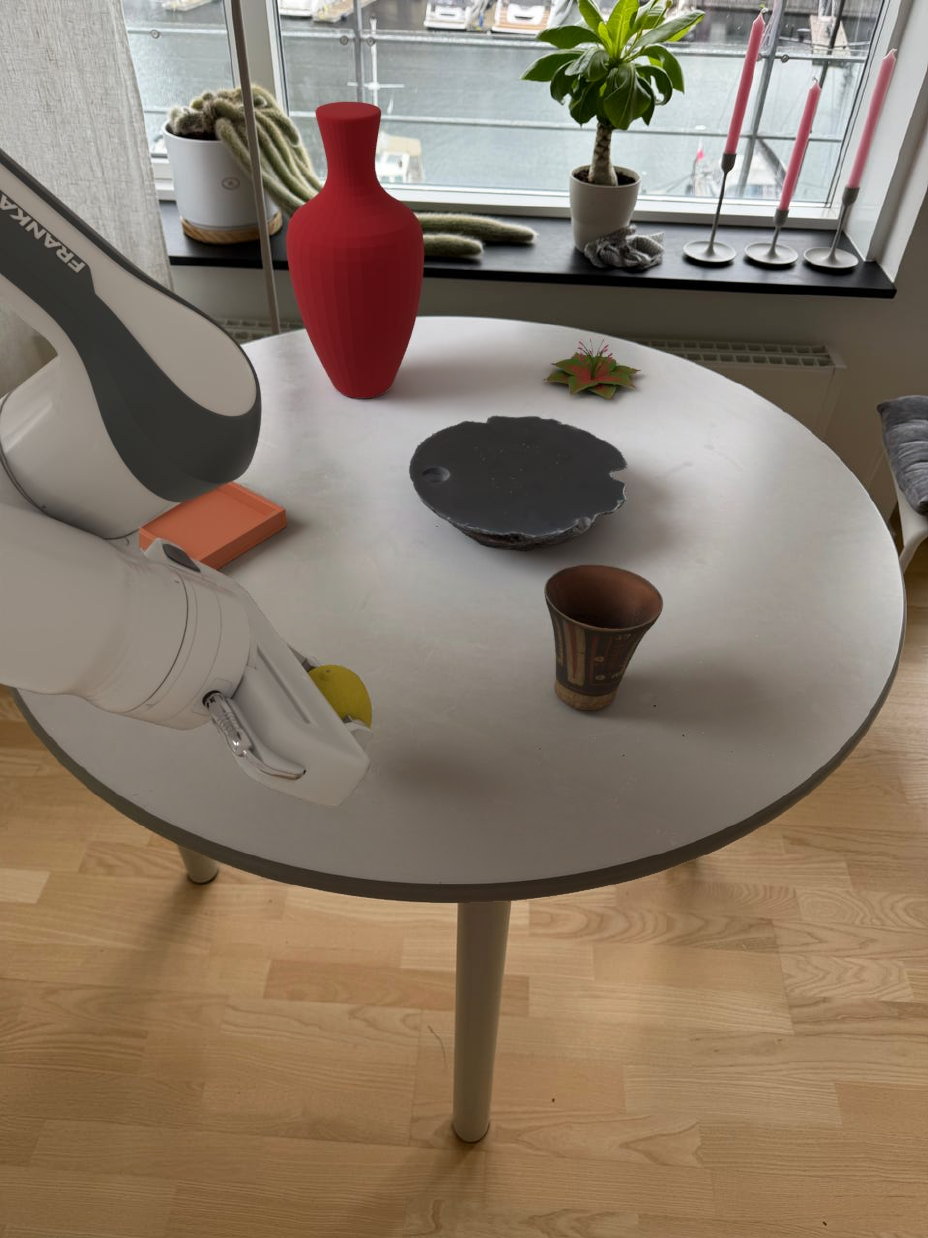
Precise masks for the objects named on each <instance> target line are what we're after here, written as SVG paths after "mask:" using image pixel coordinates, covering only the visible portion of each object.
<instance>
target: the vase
mask: <svg viewBox="0 0 928 1238" xmlns="http://www.w3.org/2000/svg"><path fill="white" fill-rule="evenodd" d="M314 111H315V119H316V122H317V126H318V131H319V134H320V137H321V141H322V146H323V150H324V154H325V160H326V168H327V169H326V170H327V173H326V178H325V182H324V184H323V186H322V188H321V189H320V191H319V192H318V193H317V194H315V196H313V197H312V198H311V199H309V200H307V201H306V202H305V203H304V204H302V205H301V206H300V207H298V208H297V209H296V211H294V213H293V215H292V217H291V218H290V219H289V221H288V225H287V230H286V231H287V232H286V237H285V243H286V258H287V262H288V263H287V264H288V271H289V276H290V281H291V285H292V288H293V293H294V297H295V301H296V303H297V306H298V310H299V313H300V316H301V320H302V322H303V325H304V328H305V331H306V334H307V336H308V338H309V341H310V343H311V345H312V348H313V350H314V352H315V354H316V356H317V358H318V360H319V362H320V364H321V366H322V367H323V370H324V371H325V373H326V375H327V376H328V377H327V378H329V381H330V383H331V384H332V385H333V387H334V389H335V390H336V391H337V392H339V393H340V394H341V395H343V396H345V397H349V398H355V399H370V398H375V397H379V396H381V395H384V394H385V393H386V392H388V391H389V390H391V388H392V386H393V385H394V382H395V379H396V377H397V374H398V372H399V371H400V368H401V365H402V362H403V360H404V357H405V355H406V353H407V349H408V348H409V344H410V341H411V337H412V335H413V332H414V328H415V324H416V320H417V316H418V312H419V306H420V301H421V295H422V286H423V280H424V267H425V266H424V264H425V243H424V242H425V241H424V232H423V228H422V225H421V222H420V220H419V218H418V217H417V216H416V214H415V213H414V211H413V210H412V209H411V208H410V207H409V206H407V204H405V203H403V202H402V201H401V200H400V199H397V198H396V197H394V196H392V195H391V194H390V193H388V192H387V191H386V189H385V188H384V187H383V186H382V184H381V182H380V181H379V178H378V175H377V171H376V158H377V157H376V156H377V145H378V140H379V133H380V126H381V120H382V110H381V108H380V107H379V106H377V105H376V104H372V103H368V102H362V101H335V102H329V103H325V104H322V105H320V106H318V107H317V108H315V110H314Z"/></svg>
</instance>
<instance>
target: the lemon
mask: <svg viewBox="0 0 928 1238" xmlns="http://www.w3.org/2000/svg"><path fill="white" fill-rule="evenodd" d="M308 675H309V676H310V677H311V679H312V680H313V682H314V683H315V684H316V686H317V687H318V688H319V690H320V691H321V693H322V694H323V695H324V697H325V698H326V699H327V701H328V702H329V704H330V705H331V706H332V708H333V709H334V710H335V712H336V713H337V714H338V716H339V717H340V719H341V720H342V721H343V720H344V718H345V717H346V716H347V715H351V716H354V717H356V718H357V719H358V718H360V719H362V720H363V721H364V723H365V724H366V725H367V726H368V728H369V729H370V730H371V726H372V720H373V719H372V718H373V707H372V702H371V698H370V696H369V692H368V690H367V687H366V685H365V683H364V682H363V680H362V679H361V678H360V676H359V675H358V674H356V673H355V672H354V671H352V670H351V669H349V668H347V667H345V666H342V665H339V664H338V665H337V664H324V665H322V666H320V667H317V668H314V669H313V670H311V671H309V672H308Z"/></svg>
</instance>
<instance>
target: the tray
mask: <svg viewBox="0 0 928 1238" xmlns="http://www.w3.org/2000/svg"><path fill="white" fill-rule="evenodd" d="M287 527H288V517H287V511H286V508H284V507H282V506H281V505H279V504H277V503H275V502H273V501H271V500H269V499H267V498H265V497H264V496H262V495H259V494H258V493H256V492H254V491H253V490H251V489H248V488H246V487H244V486H243V485H241V484H239V483H237V482H235V481H232V482H229V483H227V484H225V485H223V486H221V487H219V488H216V489H214V490H212V491H210V492H208V493H205V494H203V495H201V496H199V497H197V498H194V499H192V500H190V501H187V502H182V503H180V504H179V505H177V506H175V507H174V508H172V509H171V510H169V511H167V512H166V513H164V514H162V515H161V516H159V517H157V518H156V519H154V520H153V521H151V522H149V523H148V524H146V525H144V526H143V527H141V528H139V529H140V535H139V547H140V549H142V550H144V551H146V550H147V548H148V547H149V546H150V545H151V543H152V542H153V541H154V540H155V539H156V538H163V539H165V540H168V541H170V542H172V543H174V544H176V545H178V546H180V547H181V548H182V549H183V550H184V551H185V553H186V554H187V555H188V556H189V557H190V558H192V559H195V560H197V561H199V562H201V563H203V564H205V565H207V566H209V567H211V568H213V569H215V570H217V571H218V570H219V569H221V568H222V567H224V566H225V565H227V564H228V563H230V562H232V561H233V560H235V559H236V558H238V557H240V556H241V555H243V554H244V553H246V552H248V551H249V550H251V549H253V548H254V547H256V546H258V545H259V544H261V543H262V542H264V541H265V540H267V539H268V538H271V537H272V536H273V535H275V534H276V533H278V532H280V531H281V530H283V529H285V528H287Z"/></svg>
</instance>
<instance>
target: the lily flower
mask: <svg viewBox="0 0 928 1238" xmlns="http://www.w3.org/2000/svg"><path fill="white" fill-rule="evenodd" d="M604 341H605V338H604V339H603V340H602V341H601V343H600V346H599V347H598V350H597V352H596V355H595V356H593V354H594V349H593V348H591V349H589V350H588V348H587V347H586V346H585V345H584V343H583V342H582V341H580V340H579V341H578V343H579V344H580V345H581V346H583V347H584V349H585V350H584V349H583V348H582V347H579V346H578V347H577V350H580V351H582V352H583V353H582V352H577V351H576V352H575V353H574V354H573V355H572V356H571V358H566V359H563V360H559V361H556V362H553V363H550V365H552V366H555V367H557V368H559V369H560V370H557V371H554V372H552V373H551V374H549V375H548V376H547V377H546V378H543V379H542V381H546V382H554V383H561V384H566V385H568V389H569V391H570V392H569V397H571V396H573V395H574V394H575V395H576V393H579V392H580V391H583V390H585V389H586V390H588V391H590V392H592V393H595V394H597V395H599V396H600V397H603V398H606V400H609V401H611V399H612V397H613V395H614V394H615V392H616V385H620V386H624V387H628V388H633V389H638V388H637V386H635V385H634V383H633V382H632V380H631V378H630V377H631V376H632V375H634V374H637V373H638V372H641V371H642V369H637V368H634V367H630V366H628V365H619V364H618V365H617V360H616V359H615V358H613V357H612V356H613V355H614V353H613V352H611V353H609V354H608V356H603V354H604V353H606V352H608V351H609V348H608V347H609V345H610V344H609V343H608V344H606V345H604V347H603V349H601V351H600V348H601V346H602V344H603V343H604ZM589 342H590V346H591V347H593V345H592V339H591V338H589Z"/></svg>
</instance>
